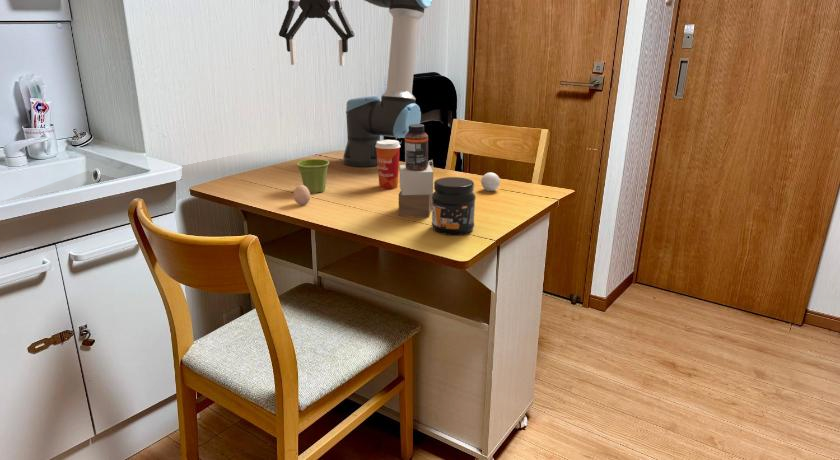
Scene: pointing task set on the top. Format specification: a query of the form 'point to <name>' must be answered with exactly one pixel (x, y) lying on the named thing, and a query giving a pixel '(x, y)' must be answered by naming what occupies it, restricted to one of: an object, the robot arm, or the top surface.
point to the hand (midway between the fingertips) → (318, 65)
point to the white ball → (490, 181)
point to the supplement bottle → (416, 148)
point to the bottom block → (415, 205)
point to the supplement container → (453, 205)
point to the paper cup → (388, 163)
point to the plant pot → (314, 174)
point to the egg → (302, 195)
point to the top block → (416, 181)
